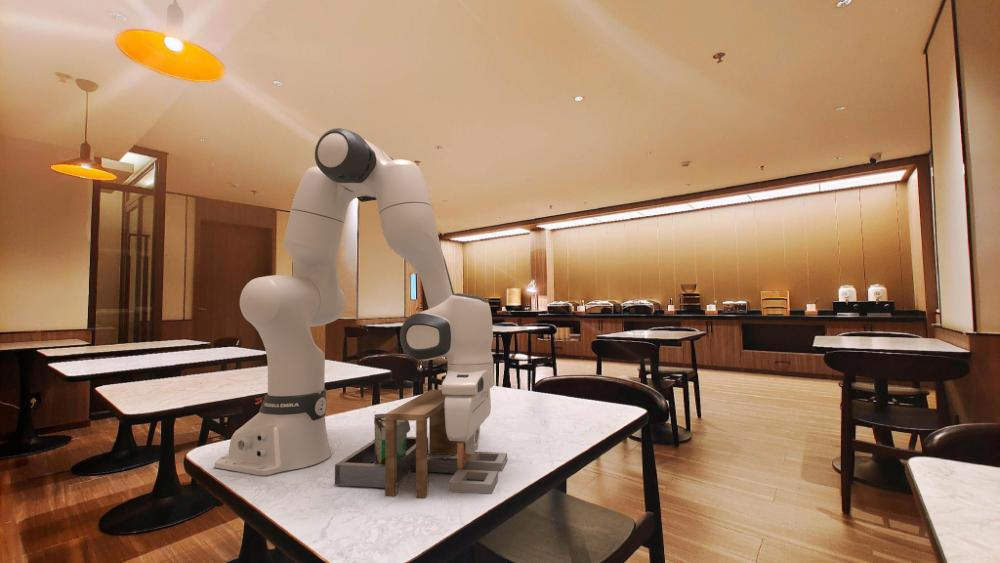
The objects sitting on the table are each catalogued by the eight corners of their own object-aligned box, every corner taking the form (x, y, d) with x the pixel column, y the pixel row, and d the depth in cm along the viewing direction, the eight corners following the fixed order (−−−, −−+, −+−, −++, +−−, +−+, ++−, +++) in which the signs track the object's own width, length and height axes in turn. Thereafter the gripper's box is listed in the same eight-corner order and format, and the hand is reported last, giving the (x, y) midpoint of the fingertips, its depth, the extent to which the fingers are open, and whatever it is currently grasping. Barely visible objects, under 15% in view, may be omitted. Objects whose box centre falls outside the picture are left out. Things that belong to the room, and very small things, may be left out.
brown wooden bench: (385, 495, 69) (385, 413, 70) (431, 451, 91) (431, 389, 92) (424, 498, 68) (424, 414, 69) (462, 453, 90) (461, 390, 91)
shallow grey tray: (334, 484, 74) (335, 448, 74) (380, 452, 91) (380, 423, 91) (453, 491, 70) (453, 453, 70) (478, 456, 87) (477, 426, 87)
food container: (416, 479, 76) (416, 424, 77) (381, 486, 73) (382, 428, 74) (404, 458, 87) (404, 410, 88) (373, 463, 85) (374, 413, 85)
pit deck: (448, 491, 70) (448, 482, 71) (471, 458, 86) (471, 451, 86) (491, 493, 69) (491, 484, 69) (507, 460, 85) (506, 452, 85)
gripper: (468, 370, 90) (469, 435, 89) (438, 386, 70) (438, 470, 69) (497, 370, 89) (498, 436, 88) (474, 386, 69) (475, 472, 68)
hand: (472, 451), depth 78 cm, fingers closed
